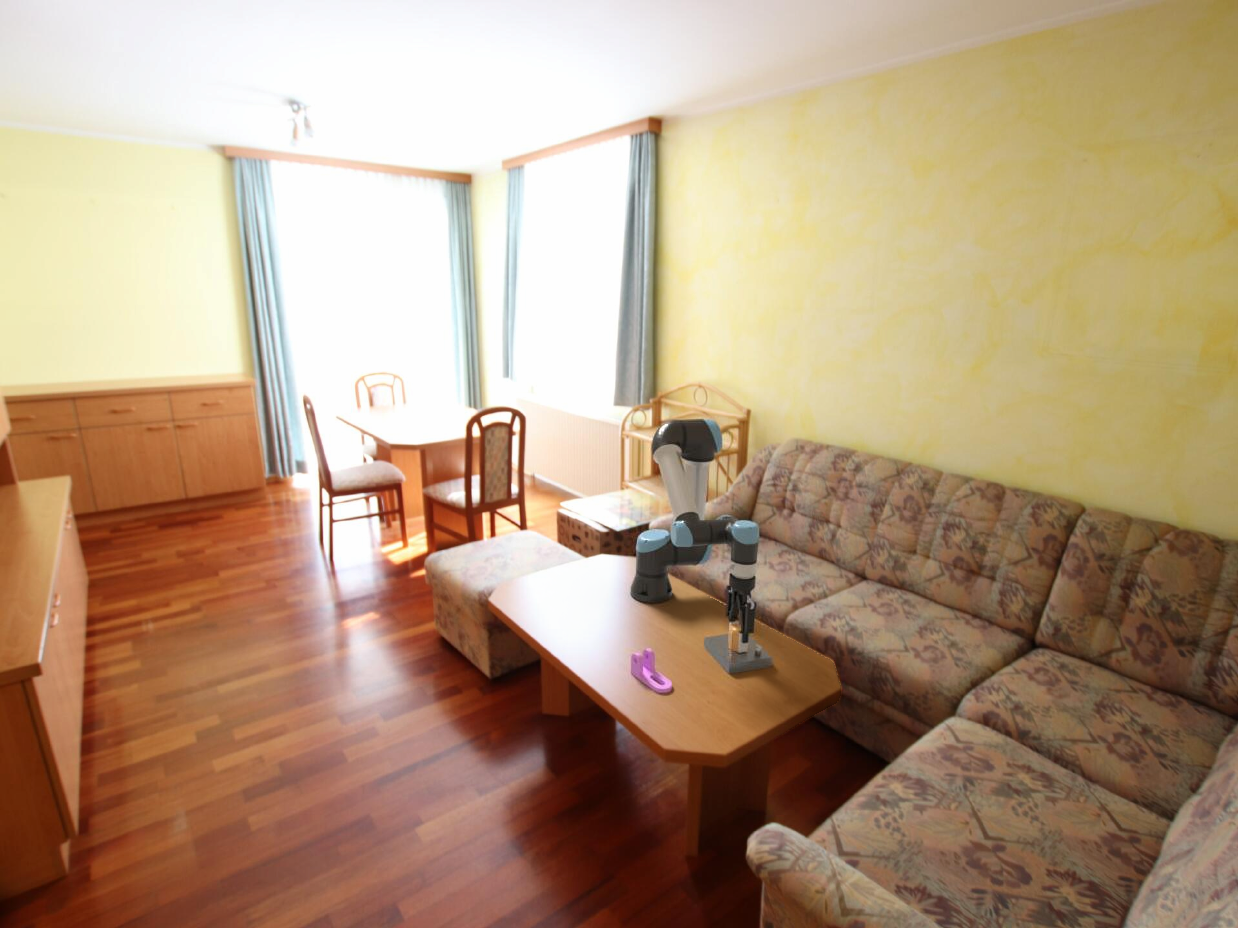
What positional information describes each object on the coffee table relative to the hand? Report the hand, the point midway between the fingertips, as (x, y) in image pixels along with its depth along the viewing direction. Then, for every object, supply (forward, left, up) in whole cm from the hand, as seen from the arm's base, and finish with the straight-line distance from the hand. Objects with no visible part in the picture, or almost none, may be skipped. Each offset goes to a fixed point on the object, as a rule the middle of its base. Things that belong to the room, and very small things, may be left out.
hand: (737, 646), depth 193 cm
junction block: (0, 0, -3) cm, 3 cm away
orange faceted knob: (0, 0, 0) cm, 0 cm away
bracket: (+5, -29, -4) cm, 30 cm away
